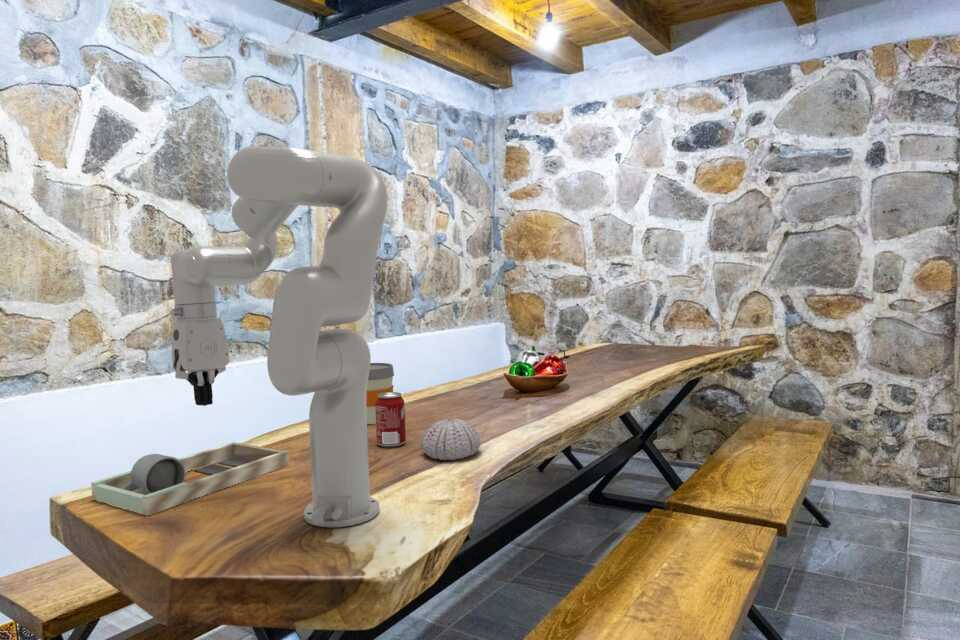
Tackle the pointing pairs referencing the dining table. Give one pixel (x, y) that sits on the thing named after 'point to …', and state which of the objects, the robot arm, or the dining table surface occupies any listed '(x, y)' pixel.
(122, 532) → the dining table surface
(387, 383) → the reusable coffee cup
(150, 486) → the ceramic mug
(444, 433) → the sea urchin shell
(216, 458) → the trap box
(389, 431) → the soda can
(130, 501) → the shallow mint tray
